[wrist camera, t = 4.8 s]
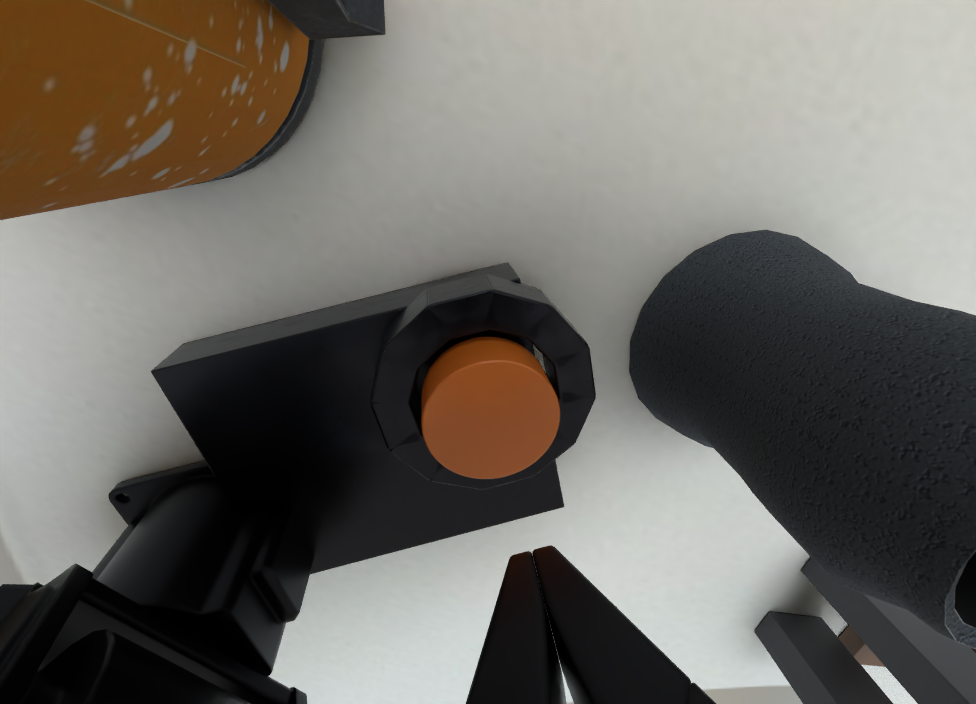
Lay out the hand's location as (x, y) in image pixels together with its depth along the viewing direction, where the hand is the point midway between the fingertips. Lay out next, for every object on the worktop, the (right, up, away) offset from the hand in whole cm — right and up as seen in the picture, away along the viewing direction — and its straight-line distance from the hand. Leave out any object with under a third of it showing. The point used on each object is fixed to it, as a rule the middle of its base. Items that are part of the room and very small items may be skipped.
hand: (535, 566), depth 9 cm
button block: (-5, +1, +10) cm, 11 cm away
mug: (+11, +5, +11) cm, 16 cm away
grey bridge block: (+18, -10, +19) cm, 28 cm away
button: (-1, +3, +6) cm, 7 cm away
